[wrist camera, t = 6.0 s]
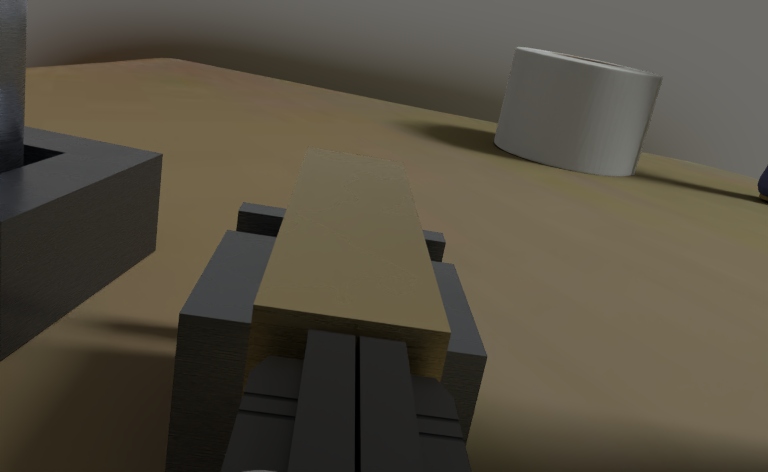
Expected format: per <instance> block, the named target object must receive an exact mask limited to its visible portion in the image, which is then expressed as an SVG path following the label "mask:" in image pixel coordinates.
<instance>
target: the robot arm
mask: <svg viewBox="0 0 768 472" xmlns="http://www.w3.org/2000/svg"><path fill="white" fill-rule="evenodd" d="M458 421H459V419H458V415H457V410H456V406H455V402H454V398H453V397H452V396H451V395H450V394H449V392H448V391H447V390H446V389H445V388H444V387H443V386H442V385H441V383H440V382H439V381H438V380H437V379H436V378H433V377H425V376H418V375H411V374H410V367H409V360H408V353H407V346H406V343H405V342H402V341H395V340H388V339H381V338H374V337H367V336H359V337H358V340H357V344H356V349H355V335H351V334H344V333H337V332H330V331H322V330H315V329H309V330H308V337H307V343H306V350H305V356H304V360H299V359H291V358H284V357H277V356H268V357H267V358H265V359H264V360H263V361H262V362H260V363H259V364H258V365H257V366H256V367H254V368H253V369H252V370H251V371H250V373H249V376H248V379H247V383H246V386H245V390H244V394H243V397H242V400H241V403H240V407H239V411H238V414H237V417H236V421H235V424H234V428H233V431H232V434H231V438H230V441H229V445H228V448H227V452H226V455H225V458H224V462H223V465H222V469H221V472H471V468H470V464H469V460H468V456H467V452H466V447H465V443H464V442H463V435H462V431H461V427H460V424H458Z"/></svg>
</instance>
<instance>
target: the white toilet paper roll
mask: <svg viewBox="0 0 768 472" xmlns="http://www.w3.org/2000/svg"><path fill="white" fill-rule="evenodd" d="M662 80H663V77H662V76H660V75H657V74H654V73H651V72H647V71H643V70H638V69H634V68H629V67H625V66H620V65H616V64H611V63H607V62H601V61H597V60H592V59H587V58H582V57H577V56H572V55H566V54H561V53H556V52H550V51H545V50H538V49H532V48H524V47H516V50H515V54H514V58H513V63H512V67H511V71H510V75H509V80H508V84H507V88H506V92H505V97H504V101H503V105H502V109H501V114H500V118H499V122H498V126H497V130H496V134H495V138H494V143H495V144H496V145H497V146H498V147H499V148H501V149H503V150H504V151H506V152H509V153H511V154H513V155H516V156H519V157H521V158H524V159H528V160H531V161H534V162H537V163H541V164H544V165H548V166H552V167H556V168H561V169H565V170H570V171H575V172H581V173H587V174H594V175H602V176H630V175H633V176H634V174H635V171H636V167H637V164H638V161H639V158H640V154H641V151H642V148H643V144H644V140H645V137H646V134H647V131H648V128H649V124H650V121H651V117H652V113H653V109H654V106H655V102H656V99H657V96H658V93H659V90H660V86H661V83H662Z"/></svg>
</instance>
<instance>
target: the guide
mask: <svg viewBox="0 0 768 472" xmlns="http://www.w3.org/2000/svg"><path fill="white" fill-rule="evenodd" d="M285 212H286V209H283V208H277V207H270V206H264V205H258V204H251V203H245V202H243V204H242V205H241V207H240V209H239V212H238V221H237V229H236V231H231V230H227V232H226V233H225V235H224V237H223V238H222V240H221V242H220V244H219V245H218V247H217V249H216V251H215V252H214V254H213V256H212V258H211V259H210V261H209V263H208V265H207V266H206V268H205V270H204V271H203V273H202V275H201V277H200V278H199V280H198V282H197V284H196V285H195V287H194V289H193V291H192V292H191V294H190V296H189V298H188V299H187V301H186V303H185V304H184V306H183V308H182V310H181V311H180V313H179V323H178V334H177V345H176V356H175V368H174V379H173V390H172V401H171V412H170V423H169V434H168V445H167V456H166V467H165V472H221V469H222V465H223V462H224V458H225V455H226V452H227V448H228V445H229V441H230V438H231V434H232V431H233V428H234V424H235V421H236V417H237V414H238V411H239V407H240V403H241V399H242V391H243V383H244V375H245V367H246V360H247V352H248V344H249V336H250V328H251V320H252V312H253V304H254V301H255V298H256V296H257V293H258V290H259V287H260V284H261V281H262V278H263V275H264V273H265V270H266V267H267V264H268V261H269V258H270V255H271V252H272V250H273V247H274V244H275V241H276V238H277V235H278V232H279V229H280V227H281V224H282V221H283V218H284V215H285ZM422 231H423V234H424V238H425V241H426V245H427V249H428V252H429V256H430V259H431V263H432V266H433V270H434V273H435V277H436V281H437V284H438V288H439V291H440V295H441V298H442V302H443V305H444V309H445V313H446V316H447V320H448V323H449V327H450V330H451V336H450V340H449V345H448V349H447V354H446V358H445V363H444V367H443V372H442V376H441V381H440V383H441V385H442V386H443V387H444V388H445V389H446V390H447V391H448V392H449V394H450V395H451V396H452V397H453V398H454V402H455V406H456V410H457V415H458V419H459V421H458V424H460V427H461V431H462V435H463V442H464V443H465V446H466V442H467V438H468V434H469V430H470V426H471V422H472V418H473V414H474V409H475V405H476V401H477V397H478V393H479V389H480V385H481V381H482V377H483V373H484V368H485V364H486V360H487V354H486V351H485V349H484V346H483V343H482V340H481V338H480V335H479V332H478V329H477V327H476V324H475V321H474V318H473V316H472V313H471V310H470V307H469V305H468V302H467V299H466V297H465V294H464V291H463V288H462V286H461V283H460V280H459V277H458V275H457V272H456V269H455V266H454V264H449V263H442V258H443V253H444V248H445V243H446V242H445V239H444V236H443V233H438V232H432V231H425V230H422Z"/></svg>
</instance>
